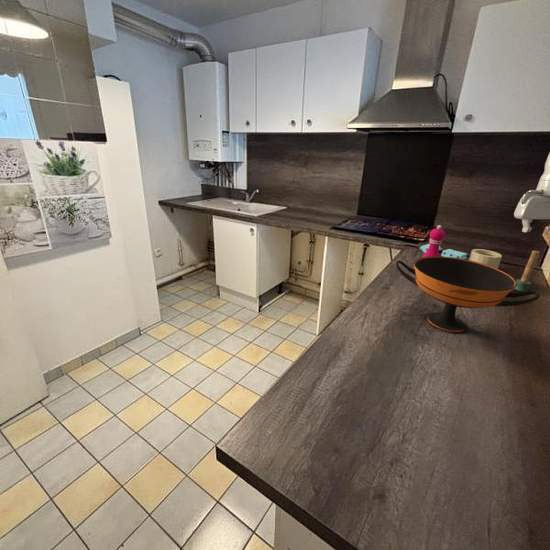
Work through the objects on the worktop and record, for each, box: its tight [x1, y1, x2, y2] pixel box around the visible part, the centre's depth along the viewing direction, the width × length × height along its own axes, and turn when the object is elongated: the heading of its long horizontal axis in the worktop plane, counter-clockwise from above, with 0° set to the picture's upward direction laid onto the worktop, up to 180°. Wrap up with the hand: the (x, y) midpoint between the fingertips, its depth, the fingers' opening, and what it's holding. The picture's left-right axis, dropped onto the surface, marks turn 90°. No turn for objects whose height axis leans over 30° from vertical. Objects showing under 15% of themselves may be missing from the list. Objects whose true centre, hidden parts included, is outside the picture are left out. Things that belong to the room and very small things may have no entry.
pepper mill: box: [422, 224, 446, 257], centre depth 131 cm, size 7×7×20 cm
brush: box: [513, 250, 541, 292], centre depth 113 cm, size 5×5×16 cm
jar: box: [468, 248, 503, 269], centre depth 125 cm, size 11×11×11 cm
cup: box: [395, 255, 541, 333], centre depth 87 cm, size 36×26×18 cm
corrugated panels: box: [419, 243, 468, 259], centre depth 147 cm, size 34×3×10 cm
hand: (538, 231), depth 99 cm, fingers open, 8 cm apart
